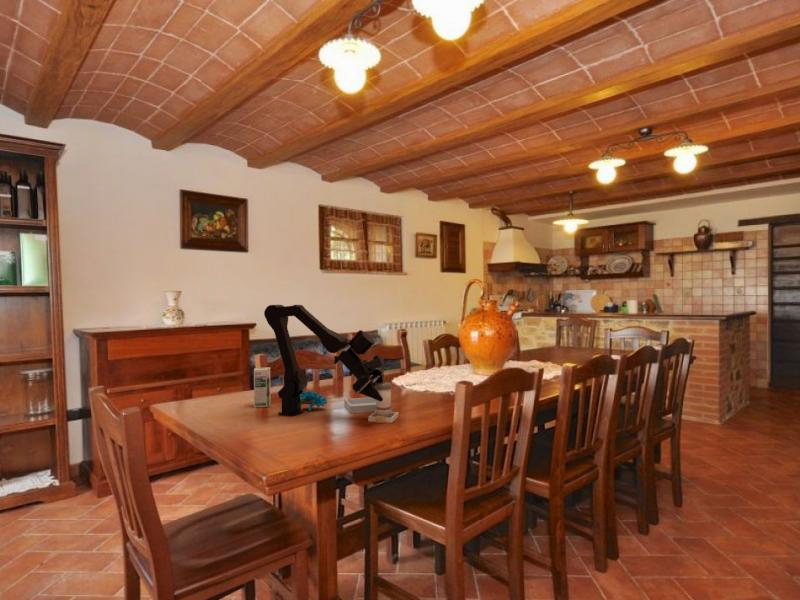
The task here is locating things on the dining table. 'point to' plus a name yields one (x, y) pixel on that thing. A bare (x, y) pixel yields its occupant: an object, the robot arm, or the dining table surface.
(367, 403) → the parts tray
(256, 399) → the syrup box
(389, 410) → the fuse
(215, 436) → the dining table surface
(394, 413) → the shallow beige tray
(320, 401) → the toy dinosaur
